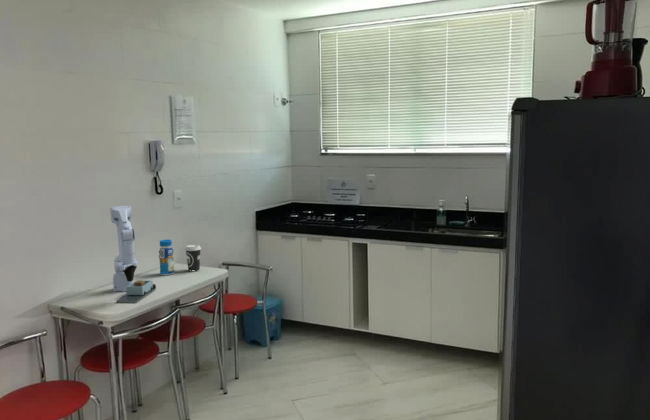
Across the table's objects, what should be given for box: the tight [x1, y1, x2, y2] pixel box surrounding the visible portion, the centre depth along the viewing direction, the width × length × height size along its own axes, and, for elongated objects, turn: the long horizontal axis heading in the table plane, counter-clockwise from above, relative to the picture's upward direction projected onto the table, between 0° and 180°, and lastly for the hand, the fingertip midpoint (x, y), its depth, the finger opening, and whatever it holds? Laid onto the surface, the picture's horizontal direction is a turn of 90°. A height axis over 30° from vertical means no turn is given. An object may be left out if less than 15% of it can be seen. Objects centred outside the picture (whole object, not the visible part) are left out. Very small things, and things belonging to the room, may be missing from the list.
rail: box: [116, 283, 157, 304], centre depth 259 cm, size 10×22×3 cm, turn 175°
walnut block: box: [133, 280, 145, 287], centre depth 262 cm, size 4×4×4 cm
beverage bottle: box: [158, 239, 175, 276], centre depth 302 cm, size 8×8×20 cm
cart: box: [126, 279, 154, 295], centre depth 262 cm, size 10×12×4 cm
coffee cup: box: [184, 244, 202, 272], centre depth 310 cm, size 10×10×15 cm
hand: (130, 281), depth 252 cm, fingers closed
